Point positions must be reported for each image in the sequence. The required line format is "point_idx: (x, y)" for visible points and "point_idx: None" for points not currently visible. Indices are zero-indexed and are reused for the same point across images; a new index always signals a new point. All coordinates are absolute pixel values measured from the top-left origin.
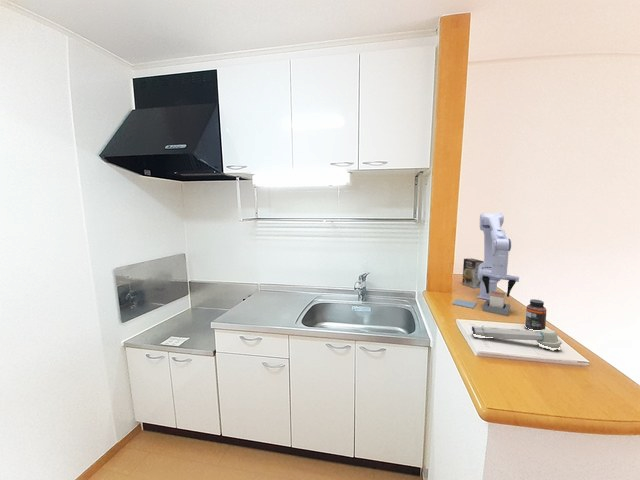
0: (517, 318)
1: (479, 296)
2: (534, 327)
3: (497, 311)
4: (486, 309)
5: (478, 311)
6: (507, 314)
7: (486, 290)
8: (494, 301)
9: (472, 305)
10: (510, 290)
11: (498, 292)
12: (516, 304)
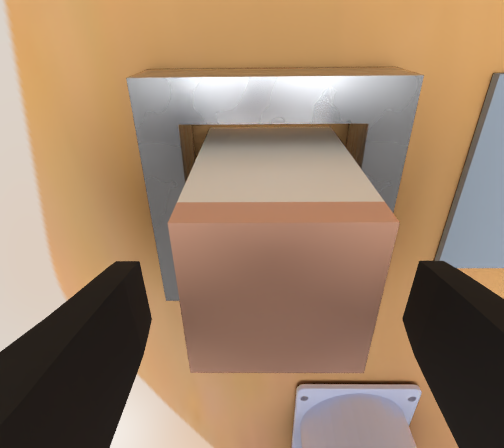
0: (58, 59)
1: (406, 405)
2: None
3: (246, 73)
4: (363, 69)
5: (442, 5)
6: (147, 72)
7: (485, 287)
8: (298, 167)
9: (494, 160)
10: (3, 352)
11: (273, 359)
12: (172, 394)
